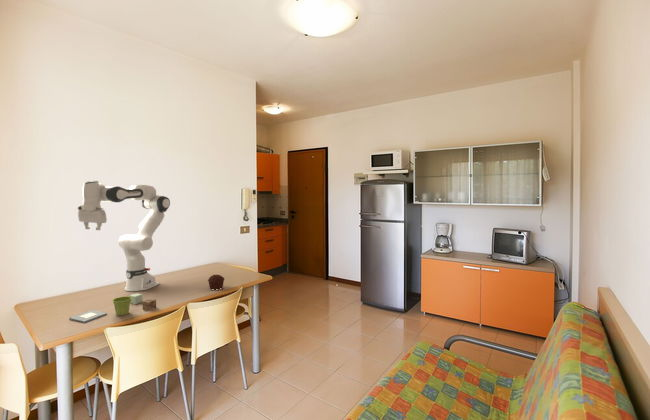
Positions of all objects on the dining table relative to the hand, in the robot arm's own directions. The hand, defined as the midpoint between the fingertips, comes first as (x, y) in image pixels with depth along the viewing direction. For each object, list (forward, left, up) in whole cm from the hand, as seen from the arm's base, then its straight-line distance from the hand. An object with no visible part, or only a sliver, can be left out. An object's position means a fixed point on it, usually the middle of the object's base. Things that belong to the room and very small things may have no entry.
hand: (92, 229), depth 190 cm
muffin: (-52, +50, -47) cm, 86 cm away
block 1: (-10, +22, -46) cm, 52 cm away
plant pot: (+5, +31, -47) cm, 56 cm away
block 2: (-6, +38, -46) cm, 60 cm away
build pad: (+16, +18, -46) cm, 52 cm away
